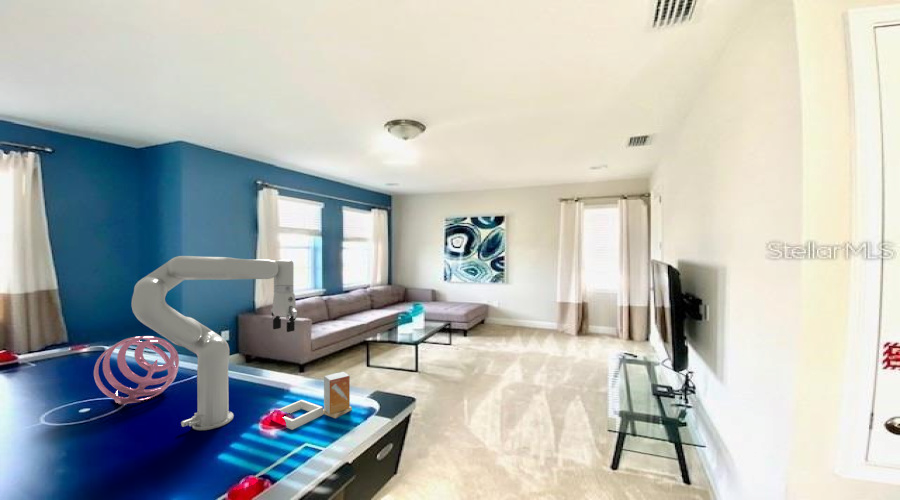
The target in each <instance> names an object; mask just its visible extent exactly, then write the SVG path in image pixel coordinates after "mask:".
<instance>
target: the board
mask: <svg viewBox="0 0 900 500" xmlns="http://www.w3.org/2000/svg"><path fill="white" fill-rule="evenodd" d="M352 409H353V407H352V406H350V408H349V409H346V410H342V411H339V412H335V413H332V414H329V413H328V412H327V411H326V410H325V409H324V408H323V415H325V416H328V417H331V418H333V419H337V418H339V417H341V416H343V415H345V414H347V413H349V412H350V411H352Z"/></svg>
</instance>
